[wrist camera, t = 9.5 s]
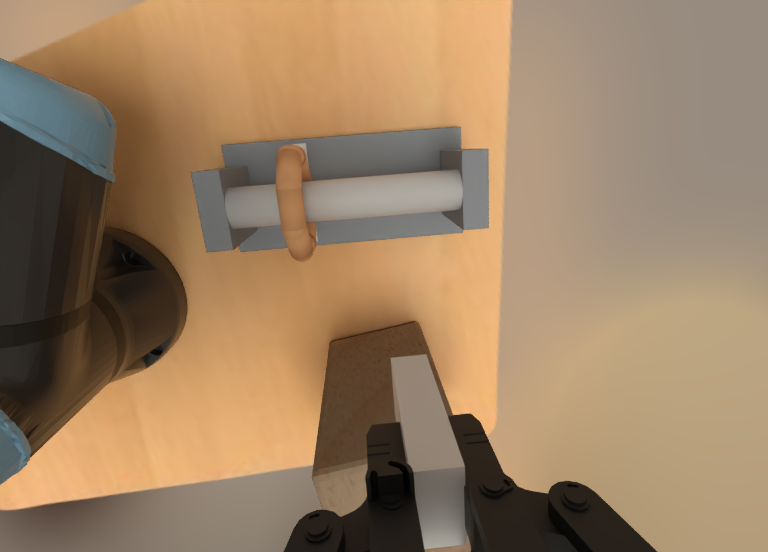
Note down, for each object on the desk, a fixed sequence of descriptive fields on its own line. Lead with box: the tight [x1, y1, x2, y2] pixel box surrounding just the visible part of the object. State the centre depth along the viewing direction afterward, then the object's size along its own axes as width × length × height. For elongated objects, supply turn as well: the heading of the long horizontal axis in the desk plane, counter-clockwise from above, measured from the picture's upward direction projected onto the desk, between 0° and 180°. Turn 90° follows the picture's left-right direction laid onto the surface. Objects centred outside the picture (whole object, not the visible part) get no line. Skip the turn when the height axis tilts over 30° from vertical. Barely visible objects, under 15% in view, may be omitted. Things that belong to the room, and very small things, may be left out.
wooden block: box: [312, 322, 471, 552], centre depth 38 cm, size 10×10×20 cm
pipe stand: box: [191, 127, 489, 252], centre depth 37 cm, size 22×10×10 cm, turn 94°
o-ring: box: [276, 145, 317, 262], centre depth 33 cm, size 2×9×9 cm, turn 5°
